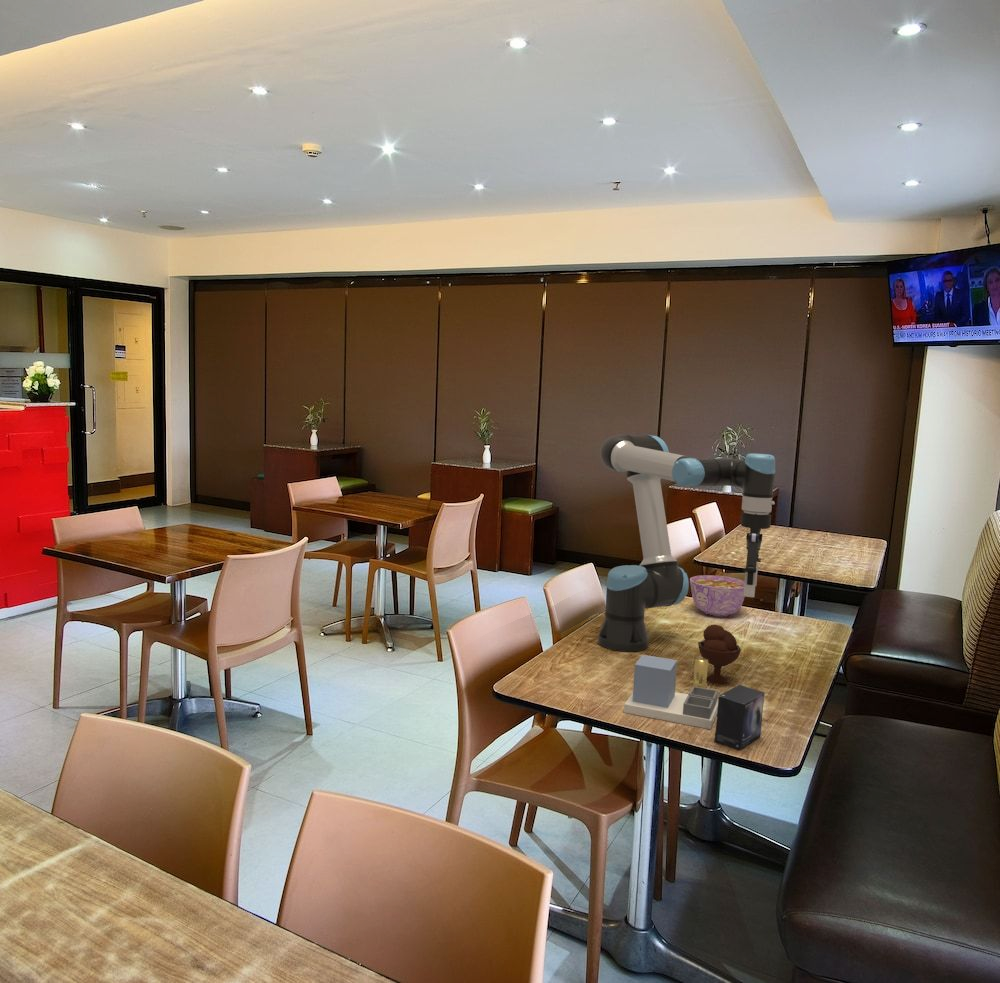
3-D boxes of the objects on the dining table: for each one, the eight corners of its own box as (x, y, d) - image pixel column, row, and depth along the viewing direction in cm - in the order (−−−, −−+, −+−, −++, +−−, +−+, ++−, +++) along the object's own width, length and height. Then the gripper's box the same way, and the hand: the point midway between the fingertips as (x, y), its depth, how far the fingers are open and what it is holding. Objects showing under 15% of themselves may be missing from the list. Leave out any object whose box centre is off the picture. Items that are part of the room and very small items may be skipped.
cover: (632, 701, 187) (634, 664, 186) (640, 689, 194) (642, 654, 193) (667, 707, 184) (670, 670, 183) (674, 696, 191) (677, 660, 190)
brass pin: (691, 699, 195) (694, 660, 194) (693, 695, 198) (696, 656, 197) (704, 701, 194) (707, 662, 193) (706, 697, 197) (709, 658, 196)
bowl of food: (689, 618, 269) (691, 585, 268) (685, 604, 289) (687, 573, 288) (750, 623, 266) (752, 590, 265) (742, 608, 286) (744, 577, 284)
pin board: (623, 712, 185) (625, 675, 184) (637, 693, 198) (639, 658, 197) (710, 729, 177) (713, 690, 176) (719, 708, 190) (721, 672, 189)
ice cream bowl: (716, 690, 202) (720, 633, 200) (687, 676, 212) (690, 621, 210) (746, 684, 207) (751, 629, 205) (717, 671, 217) (720, 618, 215)
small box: (741, 751, 166) (745, 703, 165) (713, 741, 171) (716, 695, 170) (762, 737, 174) (766, 691, 173) (734, 728, 179) (738, 683, 177)
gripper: (770, 519, 195) (763, 603, 198) (772, 508, 218) (766, 582, 221) (738, 517, 198) (732, 599, 200) (744, 505, 221) (738, 579, 223)
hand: (750, 591), depth 210 cm, fingers open, 13 cm apart
